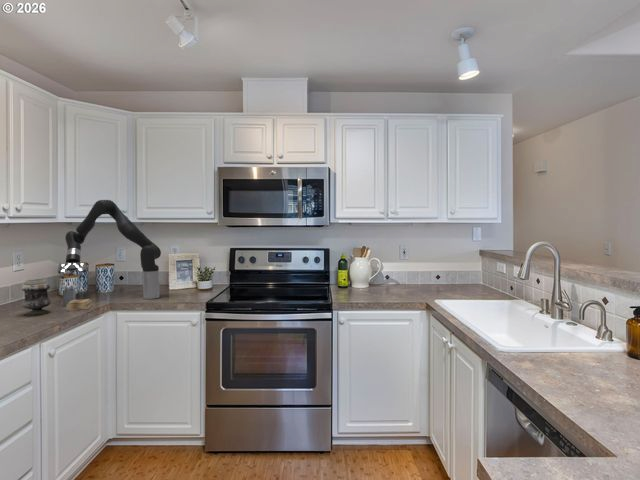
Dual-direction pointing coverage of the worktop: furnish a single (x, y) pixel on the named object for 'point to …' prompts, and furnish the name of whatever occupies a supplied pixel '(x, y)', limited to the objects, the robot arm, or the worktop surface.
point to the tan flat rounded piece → (79, 304)
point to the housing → (68, 295)
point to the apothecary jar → (36, 296)
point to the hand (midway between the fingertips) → (71, 277)
